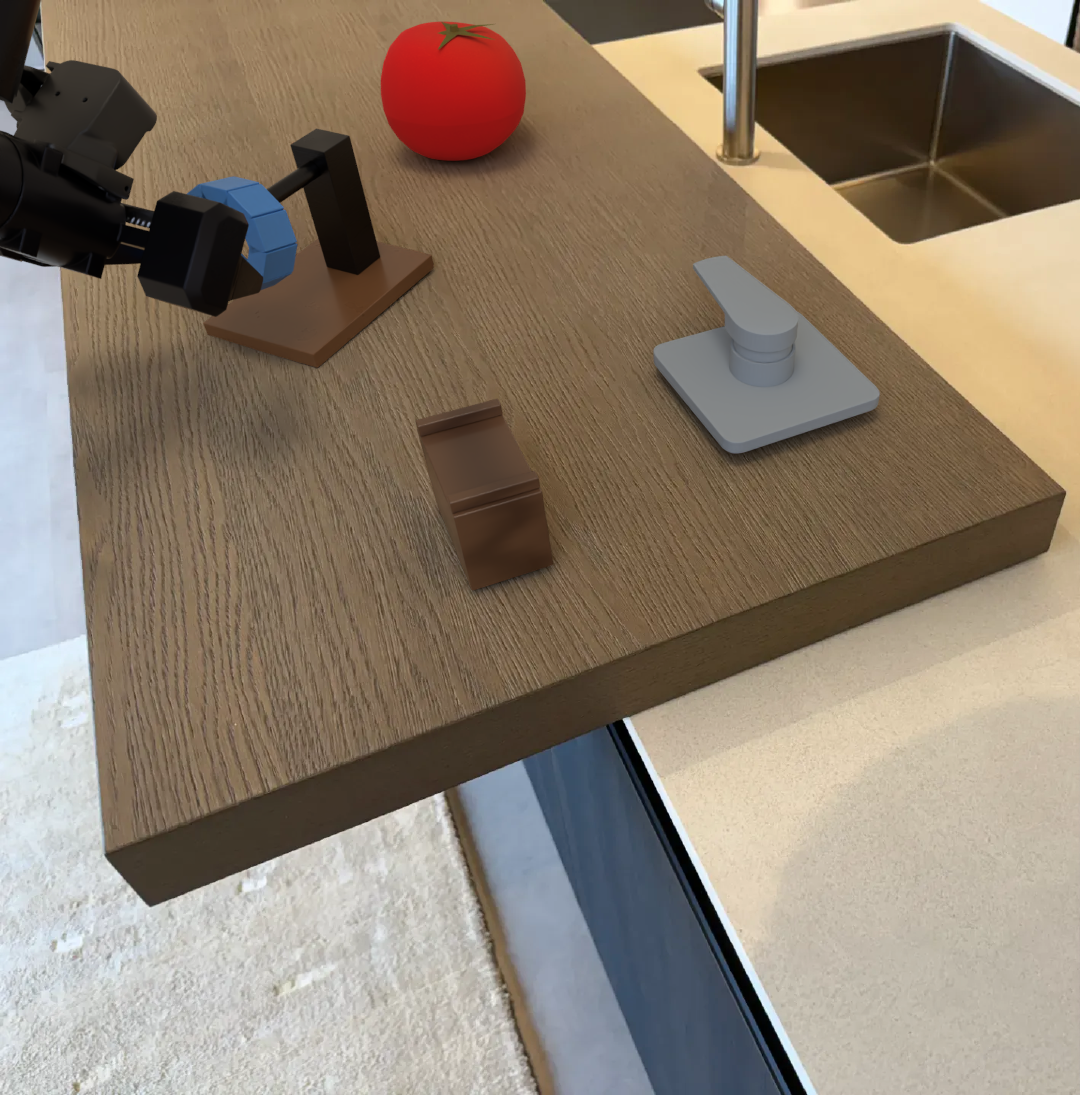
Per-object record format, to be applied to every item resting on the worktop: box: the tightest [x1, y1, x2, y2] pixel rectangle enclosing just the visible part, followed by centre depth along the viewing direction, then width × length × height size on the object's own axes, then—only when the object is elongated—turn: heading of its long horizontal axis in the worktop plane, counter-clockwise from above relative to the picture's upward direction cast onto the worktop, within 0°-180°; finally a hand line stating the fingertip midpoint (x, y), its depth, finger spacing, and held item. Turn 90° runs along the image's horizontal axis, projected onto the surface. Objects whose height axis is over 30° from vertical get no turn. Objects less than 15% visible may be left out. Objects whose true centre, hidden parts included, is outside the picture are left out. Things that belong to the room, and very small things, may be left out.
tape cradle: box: [414, 398, 554, 591], centre depth 61 cm, size 5×8×7 cm, turn 25°
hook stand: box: [202, 128, 435, 368], centre depth 77 cm, size 15×10×11 cm, turn 158°
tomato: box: [380, 21, 527, 162], centre depth 95 cm, size 12×14×11 cm
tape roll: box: [186, 175, 298, 290], centre depth 71 cm, size 3×8×7 cm, turn 67°
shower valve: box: [652, 255, 881, 454], centre depth 73 cm, size 12×6×15 cm
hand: (204, 269), depth 69 cm, fingers open, 9 cm apart
